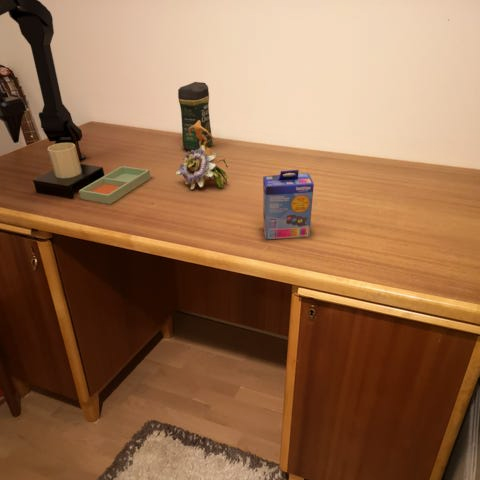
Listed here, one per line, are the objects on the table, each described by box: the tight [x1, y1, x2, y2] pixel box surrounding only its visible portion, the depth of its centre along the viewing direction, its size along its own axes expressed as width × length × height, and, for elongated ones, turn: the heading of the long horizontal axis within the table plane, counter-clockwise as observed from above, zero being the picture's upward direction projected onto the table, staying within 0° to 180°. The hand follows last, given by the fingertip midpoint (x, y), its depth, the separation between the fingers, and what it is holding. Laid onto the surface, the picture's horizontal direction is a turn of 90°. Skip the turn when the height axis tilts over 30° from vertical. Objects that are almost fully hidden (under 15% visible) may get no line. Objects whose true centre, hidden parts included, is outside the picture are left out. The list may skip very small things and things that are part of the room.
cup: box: [46, 143, 82, 178], centre depth 122 cm, size 7×7×7 cm
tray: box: [78, 165, 152, 205], centre depth 123 cm, size 18×9×2 cm, turn 155°
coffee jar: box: [177, 81, 213, 152], centre depth 142 cm, size 10×8×19 cm
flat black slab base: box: [32, 163, 106, 200], centre depth 125 cm, size 14×12×4 cm
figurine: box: [189, 120, 215, 155], centre depth 133 cm, size 8×6×12 cm
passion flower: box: [175, 145, 229, 191], centre depth 121 cm, size 11×11×12 cm
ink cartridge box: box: [262, 169, 315, 241], centre depth 96 cm, size 10×6×14 cm, turn 95°
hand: (6, 139), depth 115 cm, fingers open, 9 cm apart
